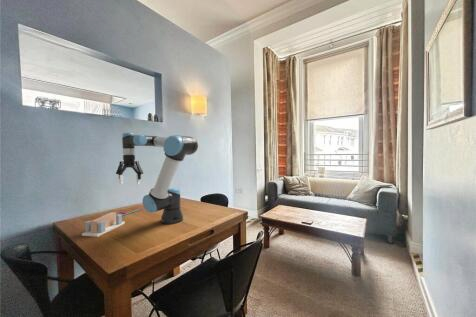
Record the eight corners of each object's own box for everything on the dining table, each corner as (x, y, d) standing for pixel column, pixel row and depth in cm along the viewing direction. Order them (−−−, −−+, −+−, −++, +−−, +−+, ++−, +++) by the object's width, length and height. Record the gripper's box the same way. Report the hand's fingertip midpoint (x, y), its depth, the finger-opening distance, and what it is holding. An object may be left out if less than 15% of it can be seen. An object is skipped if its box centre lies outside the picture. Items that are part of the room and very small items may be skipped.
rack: (124, 223, 140) (124, 213, 140) (97, 236, 118) (97, 224, 118) (111, 222, 142) (110, 212, 142) (81, 235, 120) (81, 223, 120)
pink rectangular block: (116, 222, 139) (116, 212, 139) (97, 232, 121) (96, 221, 121) (111, 222, 139) (110, 212, 139) (90, 232, 121) (90, 221, 121)
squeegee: (134, 207, 177) (141, 208, 172) (134, 209, 177) (142, 210, 173) (99, 217, 152) (107, 219, 147) (99, 220, 152) (107, 221, 147)
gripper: (147, 154, 146) (148, 183, 146) (117, 154, 150) (118, 182, 151) (141, 154, 138) (142, 184, 139) (109, 154, 143) (110, 184, 143)
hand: (130, 183), depth 145 cm, fingers open, 13 cm apart
